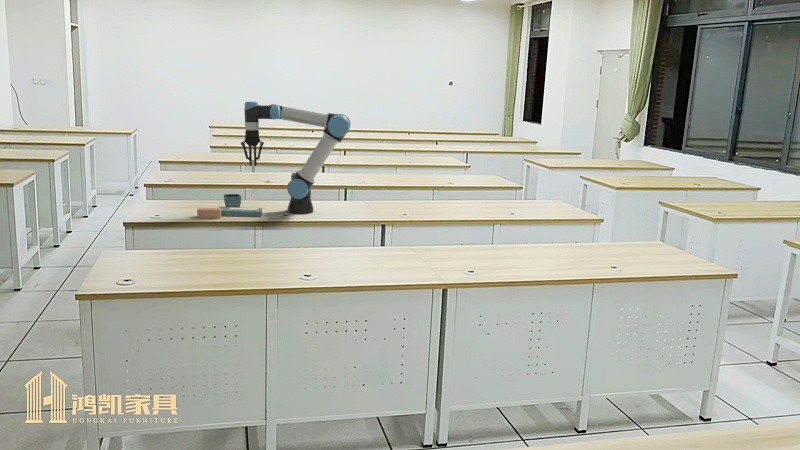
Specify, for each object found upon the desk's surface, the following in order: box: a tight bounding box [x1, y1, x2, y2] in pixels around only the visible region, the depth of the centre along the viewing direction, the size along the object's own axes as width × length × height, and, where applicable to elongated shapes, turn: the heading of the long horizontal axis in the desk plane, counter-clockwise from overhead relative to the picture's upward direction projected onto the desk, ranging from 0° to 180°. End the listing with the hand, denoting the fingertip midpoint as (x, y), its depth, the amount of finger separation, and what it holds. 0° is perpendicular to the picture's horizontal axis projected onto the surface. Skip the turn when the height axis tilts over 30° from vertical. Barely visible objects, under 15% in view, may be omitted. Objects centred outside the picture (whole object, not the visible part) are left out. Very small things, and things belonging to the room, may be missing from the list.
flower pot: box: [223, 193, 243, 207], centre depth 390 cm, size 9×9×9 cm
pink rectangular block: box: [196, 207, 222, 219], centre depth 370 cm, size 12×6×5 cm, turn 98°
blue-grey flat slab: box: [218, 206, 263, 218], centre depth 381 cm, size 24×11×3 cm, turn 98°
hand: (253, 171), depth 380 cm, fingers closed
